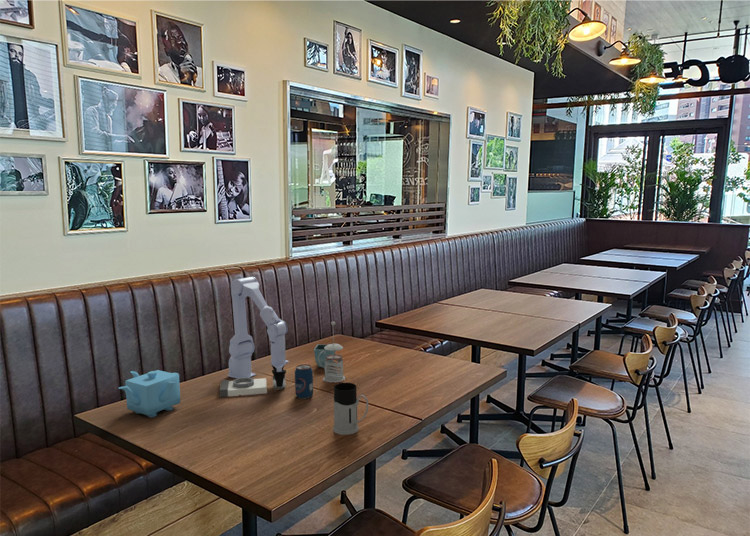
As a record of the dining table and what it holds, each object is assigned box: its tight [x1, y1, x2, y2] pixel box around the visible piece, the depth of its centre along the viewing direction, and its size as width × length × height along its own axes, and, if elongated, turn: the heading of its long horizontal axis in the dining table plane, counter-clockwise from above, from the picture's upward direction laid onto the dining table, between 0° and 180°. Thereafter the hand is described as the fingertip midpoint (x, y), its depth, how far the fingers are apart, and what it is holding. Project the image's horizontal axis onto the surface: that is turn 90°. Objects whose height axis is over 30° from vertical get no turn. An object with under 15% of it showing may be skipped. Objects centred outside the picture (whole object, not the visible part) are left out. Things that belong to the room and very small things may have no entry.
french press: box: [318, 321, 346, 383], centre depth 231 cm, size 10×12×25 cm
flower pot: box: [313, 343, 336, 368], centre depth 249 cm, size 9×9×9 cm
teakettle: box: [117, 369, 182, 418], centre depth 199 cm, size 19×19×15 cm
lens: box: [272, 375, 286, 390], centre depth 222 cm, size 5×5×5 cm
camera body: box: [219, 377, 268, 398], centre depth 219 cm, size 18×11×4 cm, turn 102°
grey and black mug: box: [332, 382, 369, 436], centre depth 180 cm, size 9×14×15 cm, turn 51°
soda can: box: [294, 363, 314, 400], centre depth 212 cm, size 7×7×12 cm
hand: (279, 383), depth 222 cm, fingers open, 7 cm apart
